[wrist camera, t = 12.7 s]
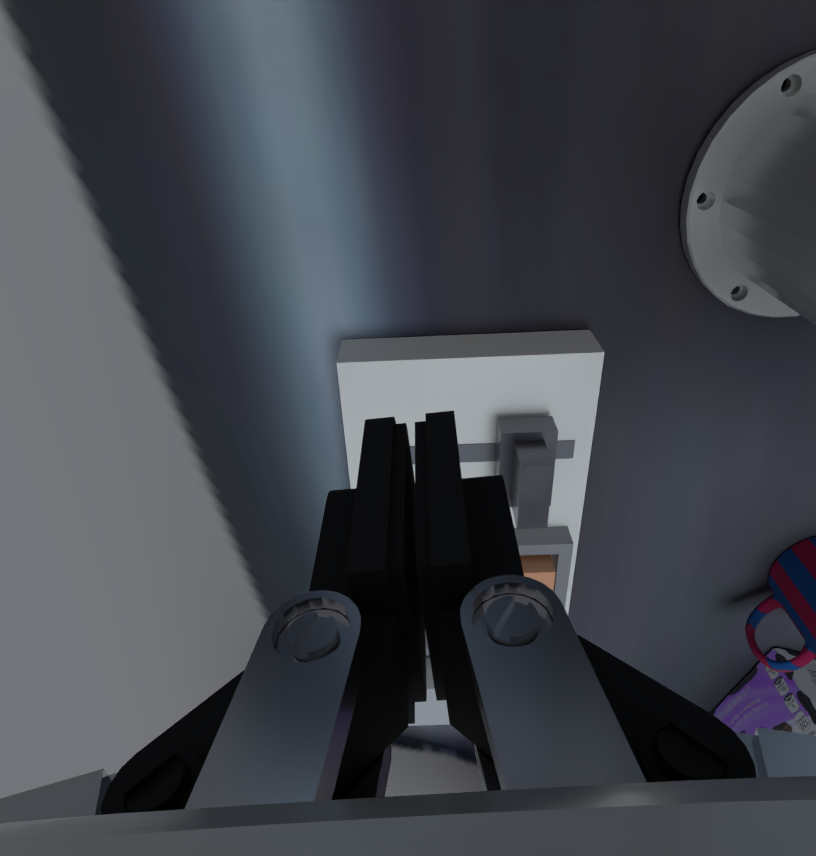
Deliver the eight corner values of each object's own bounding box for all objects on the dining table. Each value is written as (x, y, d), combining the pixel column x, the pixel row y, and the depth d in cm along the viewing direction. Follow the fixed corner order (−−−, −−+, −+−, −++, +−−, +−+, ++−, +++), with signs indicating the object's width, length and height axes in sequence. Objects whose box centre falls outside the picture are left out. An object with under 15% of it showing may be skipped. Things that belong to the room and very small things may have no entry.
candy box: (772, 643, 49) (920, 883, 35) (834, 658, 50) (1002, 896, 36) (681, 740, 56) (774, 973, 42) (737, 751, 57) (846, 982, 43)
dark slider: (552, 415, 34) (568, 457, 30) (545, 488, 36) (559, 534, 33) (497, 417, 34) (507, 459, 30) (494, 490, 36) (503, 536, 33)
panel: (589, 329, 35) (613, 365, 31) (547, 671, 50) (559, 724, 46) (341, 339, 35) (333, 376, 31) (377, 676, 51) (374, 729, 47)
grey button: (453, 657, 42) (456, 688, 40) (453, 693, 45) (456, 724, 43) (395, 658, 43) (395, 689, 40) (398, 694, 45) (398, 726, 43)
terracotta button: (547, 544, 39) (555, 572, 37) (542, 589, 41) (550, 618, 39) (483, 546, 39) (488, 574, 37) (482, 591, 41) (486, 620, 39)
